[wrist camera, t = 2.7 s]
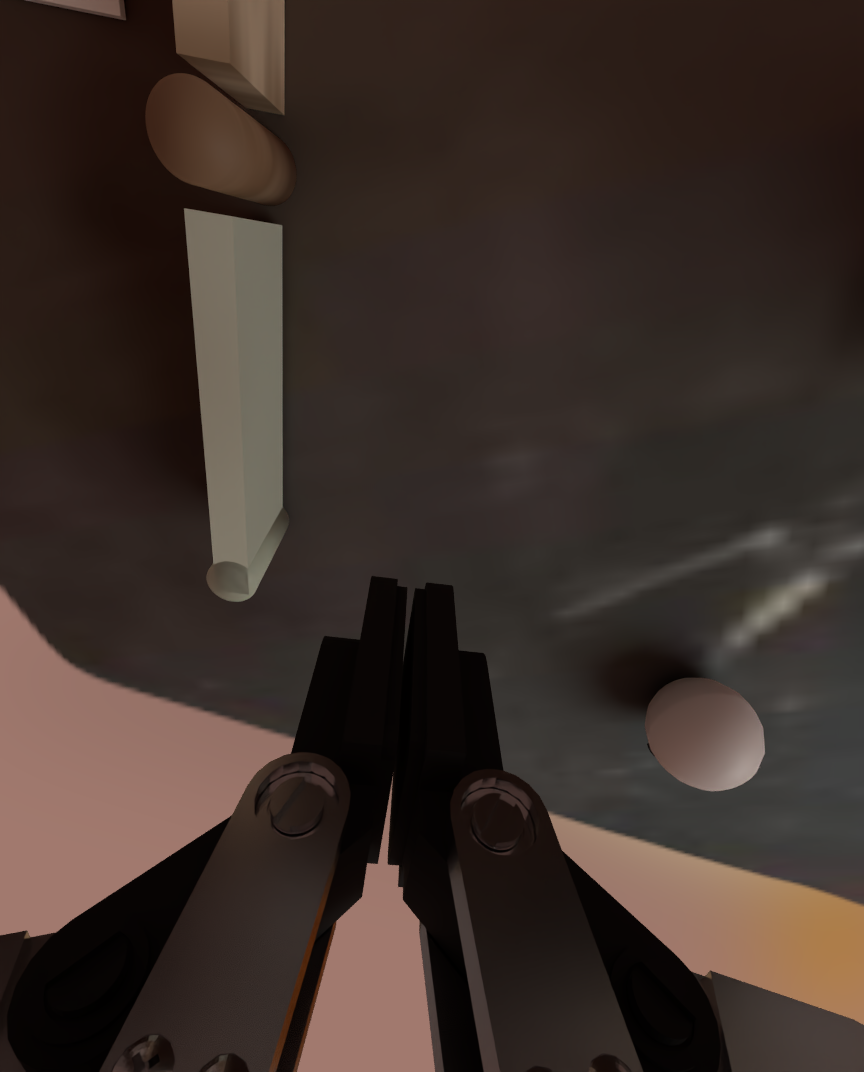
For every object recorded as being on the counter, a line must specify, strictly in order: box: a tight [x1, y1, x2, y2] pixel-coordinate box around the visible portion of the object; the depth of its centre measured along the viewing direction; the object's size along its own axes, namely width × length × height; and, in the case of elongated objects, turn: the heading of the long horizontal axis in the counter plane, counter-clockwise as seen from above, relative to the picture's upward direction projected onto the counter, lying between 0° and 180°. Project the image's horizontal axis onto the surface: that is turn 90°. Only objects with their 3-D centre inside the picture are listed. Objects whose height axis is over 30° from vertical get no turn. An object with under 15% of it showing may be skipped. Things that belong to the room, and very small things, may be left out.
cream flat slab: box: [184, 208, 289, 602], centre depth 18 cm, size 12×2×5 cm, turn 172°
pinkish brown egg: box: [645, 678, 765, 791], centre depth 27 cm, size 8×6×6 cm
